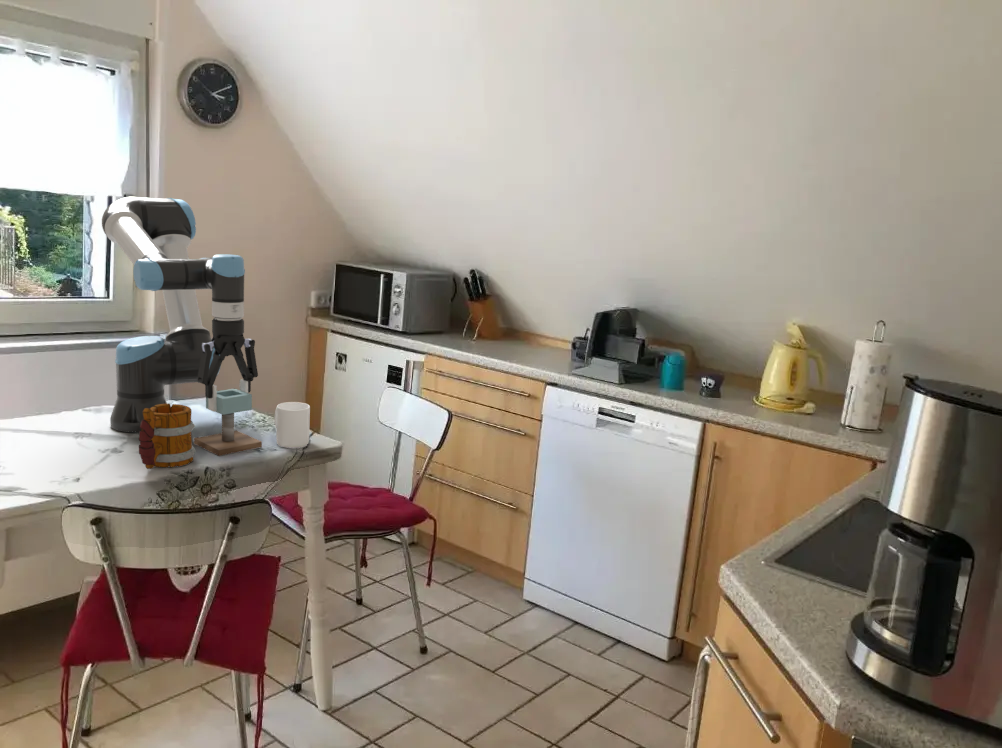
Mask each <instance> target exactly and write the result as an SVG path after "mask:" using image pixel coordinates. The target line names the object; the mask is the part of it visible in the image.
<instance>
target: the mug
mask: <svg viewBox="0 0 1002 748" xmlns="http://www.w3.org/2000/svg"><path fill="white" fill-rule="evenodd" d="M143 417H144V419H143V420H142V422H141V425H140V429H141V430H142V431H140V433H139V434H138V435H139V436H138V441H139V444H138V454H139V455H140V458H141V462H142V464H144V465H145V468H146V469H147V470H148V469H149V470H152V469H154V468H164V469H167V468H169V467H170V468H176V467H177V466H178V468H179V467H183V465H184V466H187V465H189V464H190V463H192V462H194V456H195V454H196V452H197V451H196V449H195V446H194V445H193V443H192V431H193V430H194V429H195V424H194V423H193V420H192V409H191V407H190V406H187V405H183V404H178V403H177V404H176V403H173V404H171V403H167V404H159V405H155V406H153V407H151V408H145V409H144V410H143Z"/></svg>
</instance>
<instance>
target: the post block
mask: <svg viewBox="0 0 1002 748" xmlns="http://www.w3.org/2000/svg"><path fill="white" fill-rule="evenodd" d="M193 444H194V445H195V446H198V447H200V448H201V449H204V450H206V451H208V452H210V453H211V454H214V455H216V456H218V457H221V456H225V455H230V454H236V453H240V452H244V451H245V452H246V451H250V450H255V449H259V448H262V447H263V441H262V440H259V439H257V438H255V437H252V436H250V435H248V434H246V433H243V432H241V431H239V430H237V429H236V430H235V413H231V414H225V415H222V414H221V432H219V433H214V434H208V435H204V436H203V435H202V436H198V437H197V436H196V437H193Z"/></svg>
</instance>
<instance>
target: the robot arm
mask: <svg viewBox="0 0 1002 748" xmlns="http://www.w3.org/2000/svg"><path fill="white" fill-rule="evenodd" d="M101 217H102V218H101V228H102V230H103V232H104V234H105V236H106V237H107V238H108V239H109V241H111V242H112V243H113V244H116V245H118V246H119V247H120V248H121V249H120V250H122V251H123V253H124V254H125V255H126V257H127V258H128V259H129V260H130V261H131V264H133V270H132V271H133V272H132V273H133V281H134V285H135V286H136V288H138V289H139V290H141V291H151V292H157V291H162V295H163V301H164V306H165V312H166V316H167V317H166V318H167V322H168V328H169V332H168V333H167V334H166V336H165V340H164V339H163V337H162V336H159V335H143V336H141V335H140V336H137V337H131V338H128V339H127V338H126V339H125V340H122V341H121V342H119V343H118V345H116V348H115V359H114V363H115V372H116V373H115V374H116V375H115V376H116V399H115V402H114V405H113V408H112V411H111V414H110V418H109V421H110V425H109V426H110V428H112V429H113V430H114V431H119V432H123V433H133V434H135V433H136V434H137V433H139V434H140V431H142V430H141V429H140V425H141V422H142V420H143V419H144V417H143V410H144V409H145V408H151V407H153V406H155V405H159V404H168V402H167V399H166V397H165V386H168V385H169V386H170V385H180V384H181V385H182V384H194V383H198V384H202V385H204V387H205V388H204V392H205V393H204V394H205V398H206V397H207V398H208V409H207V410H209V411H211V412H215V413H217V412H216V411H217V391H218V388H217V387H218V386H217V385H216V384H214V383H215V382H216V379H217V377H218V375H219V373H220V370H221V366H222V364H223V361H224V360H225V358H226V357H229V356H232V357H233V358H234V361H235V362H236V366H237V368H238V370H239V372H240V375H241V378H242V379H239V390H240V391H243V392H246V393H249V394H250V393H251V391H252V385H251V384H252V383H251V382H253V381H254V378H257V377H258V376H259V374H258V372H259V371H258V366H257V360H256V353H255V345H256V341H255V339H252V338H250V337H249V338H248V337H247V338H245V337H244V334H245V320H244V317H245V274H246V269H245V262H244V261H245V260H244V258H243V257H242V255H238V254H231V253H230V254H229V253H228V254H225V253H221V254H218V253H217V254H214V255H213V256H212V257H200V258H190V256H189V250H188V248H189V247H190V246H191V244H192V240H193V239H194V238H195V236H196V232H197V228H196V225H197V223H196V218H195V214H194V212H193V209H192V208H191V206H190V204H189V203H188V202H187V201H185V200H184V199H178V198H172V197H166V198H165V197H164V198H161V197H160V198H159V197H158V198H157V197H141V196H126V197H122V198H119V199H117V200H115V201H112V203H110V204H109V205H108V206H107V208H106V209H105V210H104V211H103V215H102V216H101ZM196 290H211V316H212V317H213V319H212V320H211V333H212V337H211V333H210V330H209V329H208V328H206V327H205V326H203V321H202V317H201V310H200V307H199V302H198V297H197V291H196ZM243 346H244V353H245V358H244V353H243V351H242V347H243Z"/></svg>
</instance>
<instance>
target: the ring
mask: <svg viewBox="0 0 1002 748" xmlns="http://www.w3.org/2000/svg"><path fill="white" fill-rule="evenodd" d="M252 397H253V394H252V393H250V392H249V393H246V392H243V391H240V389H236V388H229V389H222V390H217V411H216V412H215V413H217V414H221V416H222V415H225V414H231V413H234V414H236V413H241V412H247V411H252V410H253V398H252ZM205 408H206V409H207V410H209V409H208V398H207V397H206V396H205Z"/></svg>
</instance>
